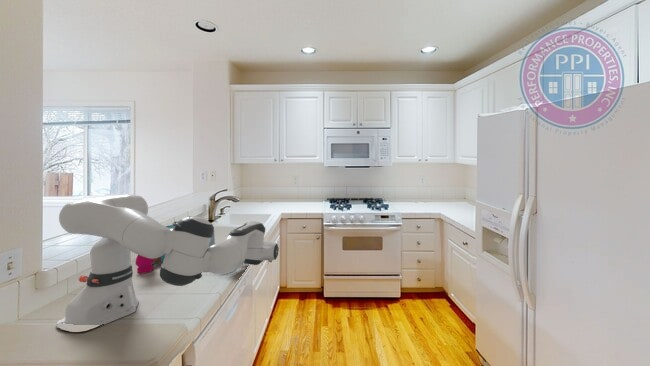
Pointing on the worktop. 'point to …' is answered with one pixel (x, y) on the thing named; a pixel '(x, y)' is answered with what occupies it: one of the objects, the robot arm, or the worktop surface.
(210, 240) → the box
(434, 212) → the worktop surface
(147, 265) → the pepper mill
